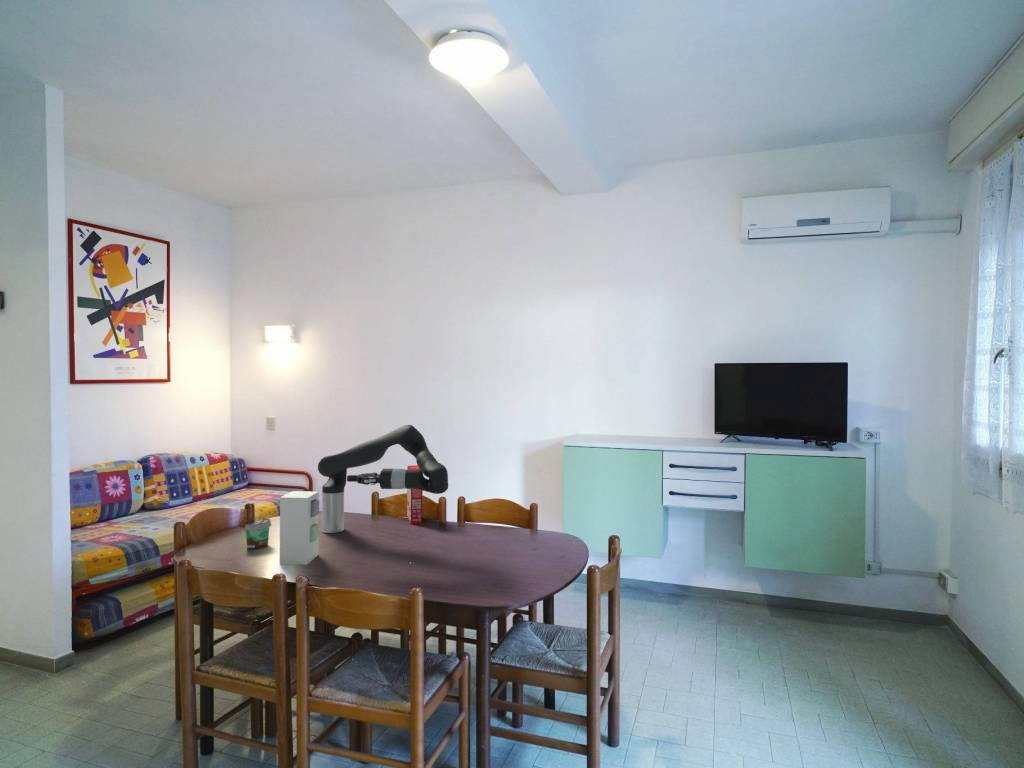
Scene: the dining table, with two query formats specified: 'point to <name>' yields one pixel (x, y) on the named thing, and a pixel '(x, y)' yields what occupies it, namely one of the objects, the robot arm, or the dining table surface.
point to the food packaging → (414, 502)
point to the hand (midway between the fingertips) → (347, 478)
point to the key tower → (297, 528)
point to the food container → (257, 534)
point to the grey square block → (314, 507)
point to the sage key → (314, 532)
